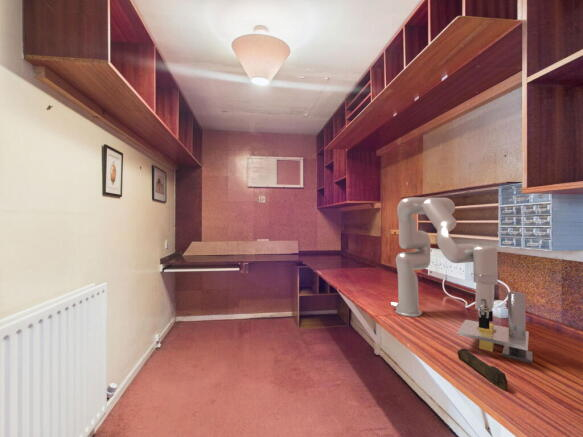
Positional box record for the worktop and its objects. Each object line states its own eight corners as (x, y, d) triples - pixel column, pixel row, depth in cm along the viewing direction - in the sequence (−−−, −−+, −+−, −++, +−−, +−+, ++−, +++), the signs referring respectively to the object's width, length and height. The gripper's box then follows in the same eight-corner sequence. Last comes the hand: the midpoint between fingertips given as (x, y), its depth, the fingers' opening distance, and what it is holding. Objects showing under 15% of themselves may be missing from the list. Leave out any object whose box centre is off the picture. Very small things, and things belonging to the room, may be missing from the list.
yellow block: (479, 348, 105) (478, 324, 105) (481, 344, 108) (480, 321, 108) (492, 351, 103) (491, 327, 103) (493, 347, 106) (493, 323, 106)
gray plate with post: (457, 349, 105) (456, 290, 105) (466, 335, 117) (465, 282, 117) (532, 368, 91) (530, 300, 91) (532, 350, 103) (531, 290, 103)
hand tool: (456, 359, 98) (456, 346, 98) (468, 359, 98) (468, 346, 98) (496, 392, 79) (496, 376, 79) (510, 392, 79) (510, 376, 79)
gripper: (477, 273, 115) (477, 315, 115) (469, 281, 102) (470, 328, 102) (500, 276, 110) (500, 320, 110) (495, 284, 97) (495, 334, 97)
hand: (486, 324), depth 106 cm, fingers open, 9 cm apart
